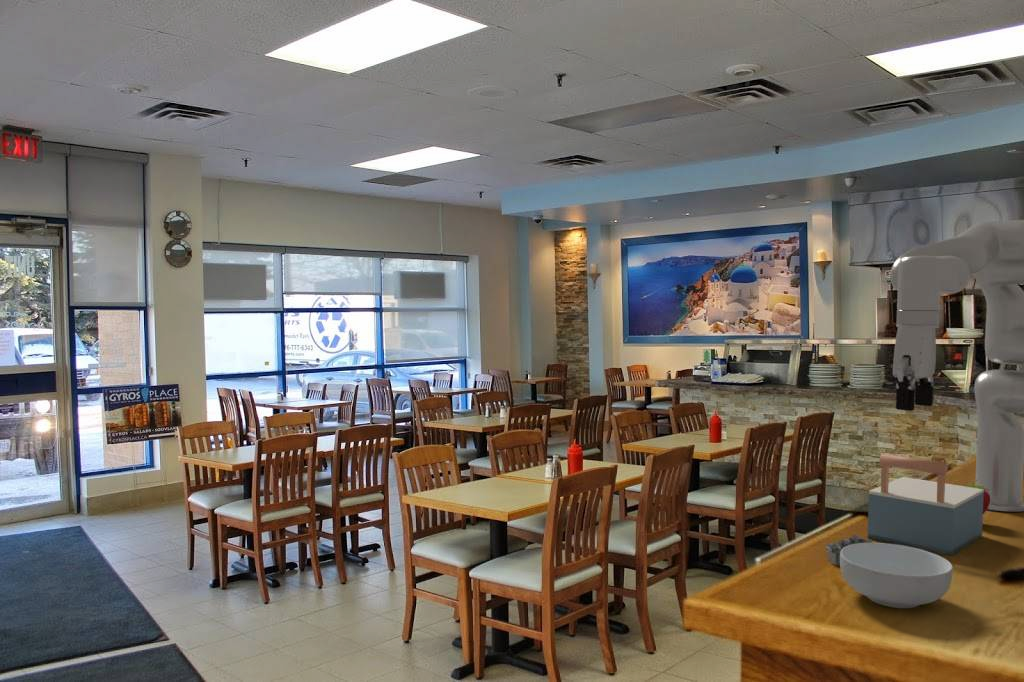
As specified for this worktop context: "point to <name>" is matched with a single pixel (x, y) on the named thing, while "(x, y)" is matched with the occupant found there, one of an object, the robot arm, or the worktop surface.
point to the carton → (925, 523)
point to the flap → (922, 483)
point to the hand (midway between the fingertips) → (914, 407)
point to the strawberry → (985, 498)
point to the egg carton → (838, 546)
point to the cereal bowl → (895, 573)
